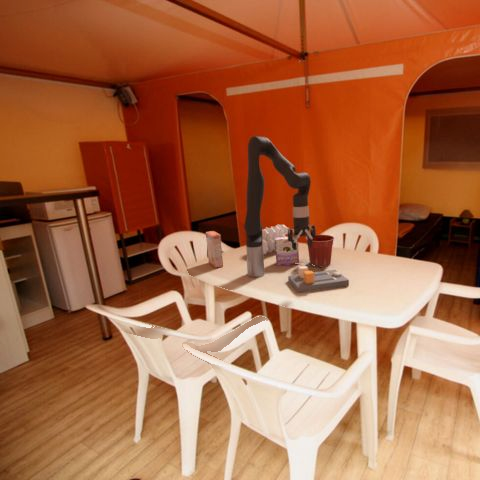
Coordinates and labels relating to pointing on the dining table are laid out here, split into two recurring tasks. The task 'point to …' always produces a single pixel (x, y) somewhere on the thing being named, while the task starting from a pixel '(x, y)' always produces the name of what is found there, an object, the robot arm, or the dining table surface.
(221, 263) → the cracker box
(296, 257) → the candy box
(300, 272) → the ivory slider
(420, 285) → the dining table surface
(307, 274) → the orange slider
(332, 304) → the dining table surface
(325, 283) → the panel
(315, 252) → the flower pot
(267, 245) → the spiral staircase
